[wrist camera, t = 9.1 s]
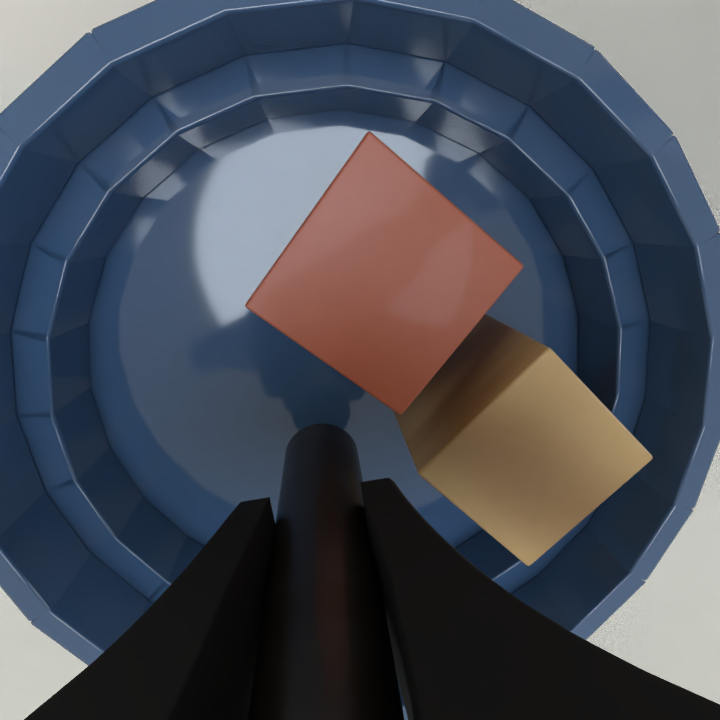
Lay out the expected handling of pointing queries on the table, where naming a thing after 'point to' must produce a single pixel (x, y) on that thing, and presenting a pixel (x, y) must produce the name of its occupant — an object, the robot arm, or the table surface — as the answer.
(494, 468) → the maple block
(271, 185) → the bowl
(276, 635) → the dark grey rod
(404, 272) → the terracotta block
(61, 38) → the table surface
